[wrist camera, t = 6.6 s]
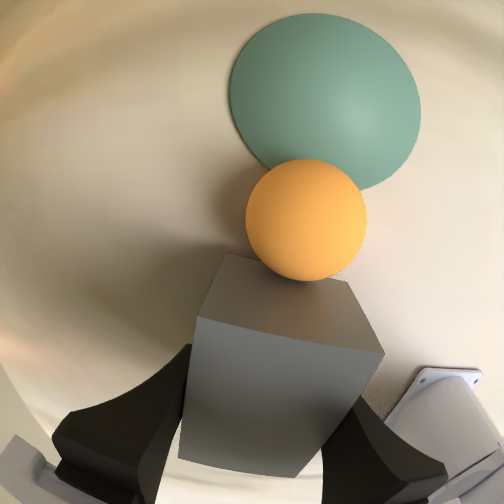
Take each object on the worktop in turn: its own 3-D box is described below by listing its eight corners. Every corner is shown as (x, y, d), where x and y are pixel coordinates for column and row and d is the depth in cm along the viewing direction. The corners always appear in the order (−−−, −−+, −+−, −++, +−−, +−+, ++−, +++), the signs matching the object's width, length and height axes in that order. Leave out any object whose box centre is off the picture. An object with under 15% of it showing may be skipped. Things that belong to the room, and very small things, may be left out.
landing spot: (395, 216, 14) (396, 217, 13) (209, 164, 13) (208, 164, 13) (428, 56, 11) (429, 55, 10) (257, -1, 10) (257, -3, 10)
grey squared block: (291, 404, 16) (294, 477, 11) (199, 385, 16) (177, 458, 11) (347, 282, 13) (385, 354, 8) (226, 252, 13) (197, 315, 8)
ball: (335, 305, 13) (388, 268, 8) (230, 280, 13) (233, 227, 8) (345, 216, 15) (385, 156, 10) (255, 192, 15) (267, 120, 10)
